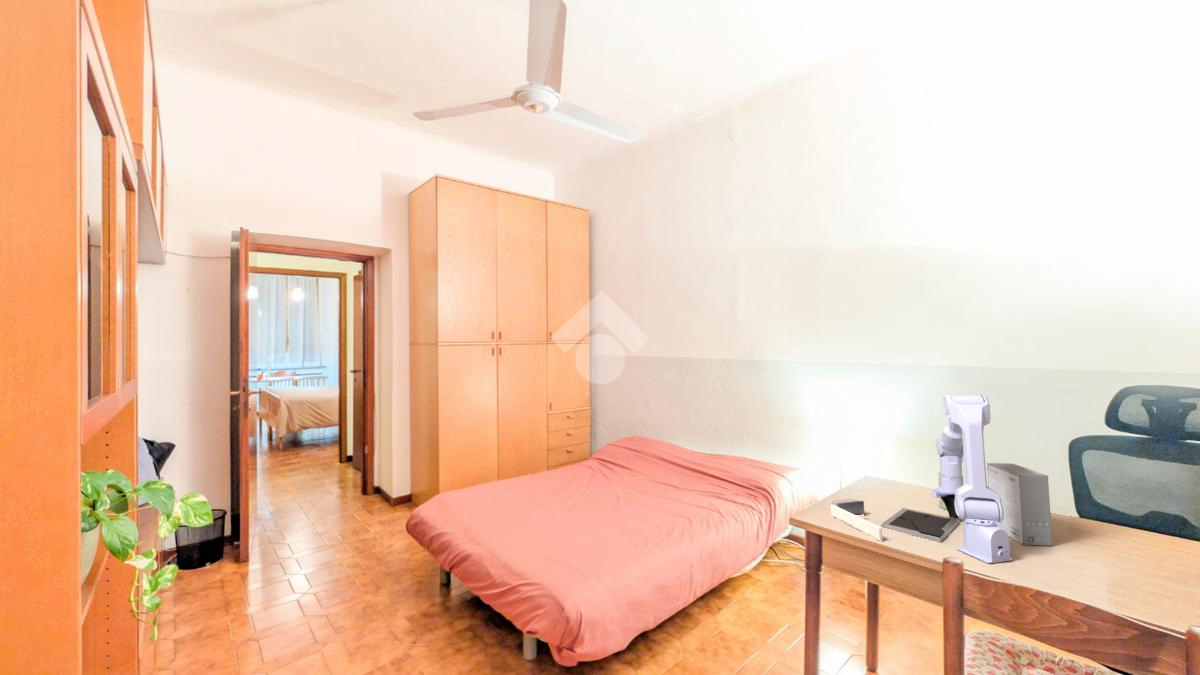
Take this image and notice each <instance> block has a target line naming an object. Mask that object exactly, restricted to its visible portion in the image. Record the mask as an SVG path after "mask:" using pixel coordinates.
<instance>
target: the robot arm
mask: <svg viewBox="0 0 1200 675" xmlns="http://www.w3.org/2000/svg"><path fill="white" fill-rule="evenodd" d="M990 406H991V405H990V402H989V400H988V397H987V396H986V395H984V394H949V393H947V394H946V393H945V394H944V396H943V397H942V407H943V412H944V414H945V415H946V417H947V418H948V423H947V424H945V425H944V427H943V428H942V432H941V436H939V437H937V438H936V443H935V444H936V445H935V447H936V452H937V455H938V457H939V467H940V468H939V470H940V472H941V486H940V488H939V487H938V488H936V489H931V490H930V496H931V497H932V498H936V499H939V497H940V498H941V499H942V500H943V502H944V504H945V506H946V508H947V513H948V516H949V517H950V518H954V519H959V520H960V519H961V520H962V526H963V528H962V529H963V544H964V546H958V547H956V550H958V551H960V552H962V553H964V554H966V555H968V556H971V557H974V558H976V559H978V560H980V561H982V562H984V563H987V564H995V563H1002V562H1008V561H1013V560H1014V559H1013V558H1012V556H1011V552H1010V551H1011V550H1010V549H1011V548H1010V537H1009V536H1008V534H1007V533H1006V532H1005V531H1004V530H1002V529H1001V528H999V527H998V526H997V525H999V523H998V522H1001V521H1002V520H1003V518H1004V510H1003V506H1002V503H1001V497H1000V496H999V494H998V493H997V492H995V491H994V490H992V489H991V488H989V487H988V479H987V469H986V468H987V467H986V466H987V465H986V457H985V454H986V453H985V441H984V429H985V426H987V425H990V423H991V409H990V408H991V407H990ZM962 464H963V466H964V476H963V466H962ZM962 476H963V477H962ZM964 480H965V482H964Z"/></svg>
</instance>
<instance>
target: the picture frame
mask: <svg viewBox="0 0 1200 675" xmlns="http://www.w3.org/2000/svg"><path fill="white" fill-rule="evenodd" d="M959 520H960V518H957V519H954V518H952V517H950V516H949V517H948V516H944V515H940V514H934V513H930V512H925V511H920V510H914V509H909V508H905V507H903V508H902V509H901V508H900V510H899V511H897V512H896V513H894V514H893V515H891V516H890V517H888V519H886V520H884V521H883V522H882V523H880V527H883V528H887V529H891V530H895V531H898V532H903V533H906V534H909V535H908V536H910V535H913V536H912V537H914V536H916V537H915V538H918V537H920V538H919V539H922V538H924V540H926V539H928V540H927V541H931V540H932V541H931V542H935V541H936V542H935V543H941V542H943V541H944V540H945V538H946V537H948V536H949V534H950V533H951V532H952V531H953V530H955V528H956V527H957V526H959V524H960V521H959ZM906 534H905V535H906Z"/></svg>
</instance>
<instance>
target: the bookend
mask: <svg viewBox="0 0 1200 675" xmlns="http://www.w3.org/2000/svg"><path fill="white" fill-rule="evenodd" d="M837 507H839V508H841V509H844V510H846V511H848V512H850V513H852V514H854V515H862V514H864V515H865V502H864V500H859V501H854V502H845V503H837Z"/></svg>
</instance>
